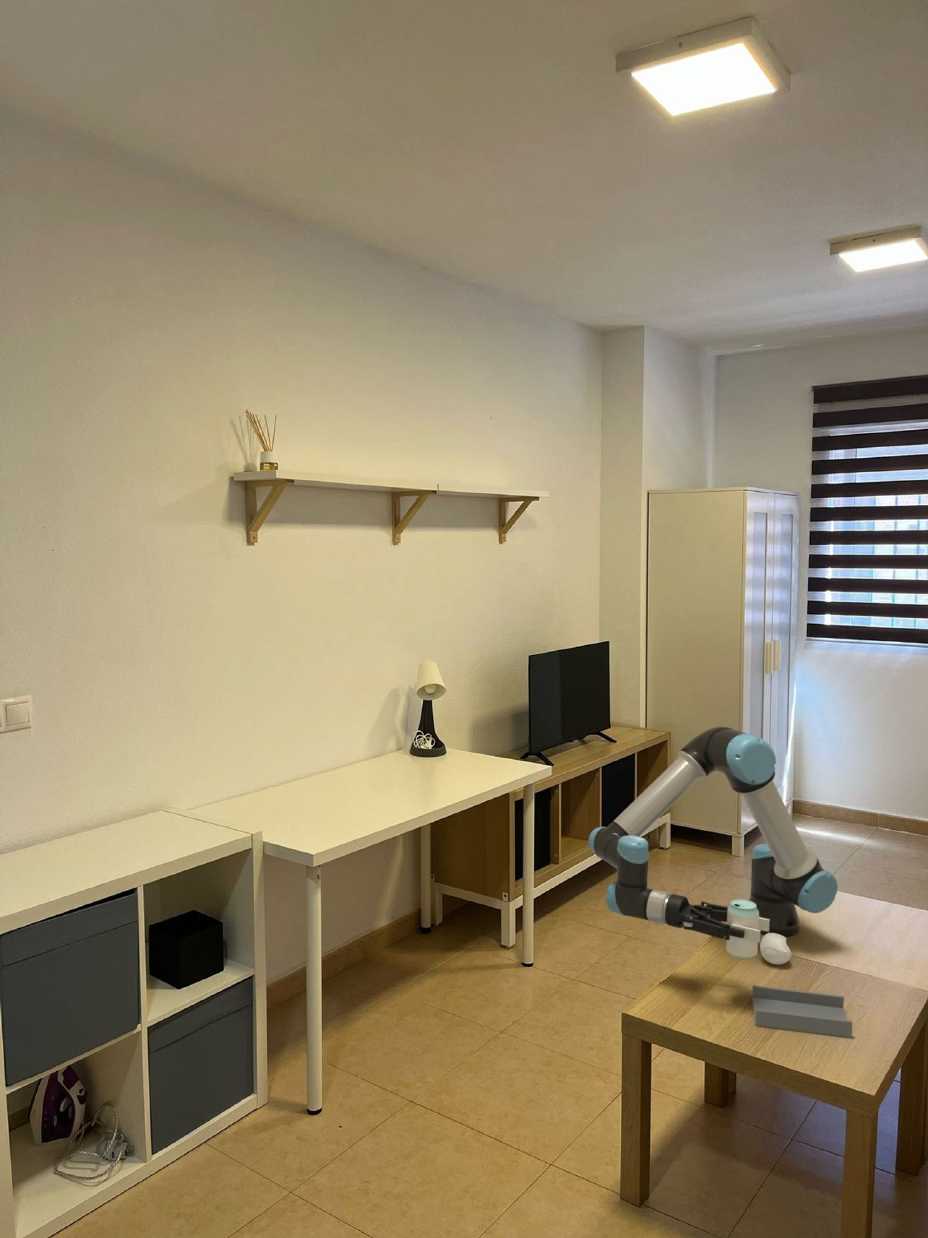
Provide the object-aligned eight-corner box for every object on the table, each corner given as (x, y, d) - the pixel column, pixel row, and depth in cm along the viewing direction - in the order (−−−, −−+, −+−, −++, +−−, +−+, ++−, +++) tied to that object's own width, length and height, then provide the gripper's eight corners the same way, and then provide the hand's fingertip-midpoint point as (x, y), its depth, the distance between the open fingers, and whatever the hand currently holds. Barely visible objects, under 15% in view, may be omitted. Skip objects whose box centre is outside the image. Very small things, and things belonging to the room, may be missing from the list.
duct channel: (752, 999, 224) (752, 985, 224) (842, 1010, 219) (843, 996, 219) (755, 1026, 212) (756, 1010, 211) (851, 1038, 207) (852, 1022, 207)
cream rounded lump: (793, 971, 240) (795, 941, 239) (762, 969, 240) (763, 939, 240) (786, 957, 247) (788, 928, 247) (756, 955, 248) (758, 926, 248)
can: (747, 963, 218) (749, 912, 217) (720, 953, 223) (722, 903, 222) (762, 954, 223) (764, 904, 222) (735, 944, 228) (737, 896, 227)
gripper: (682, 911, 240) (775, 932, 228) (653, 938, 224) (751, 962, 211) (683, 882, 240) (776, 902, 228) (654, 907, 223) (752, 929, 211)
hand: (764, 931), depth 220 cm, fingers closed on can, 7 cm apart
